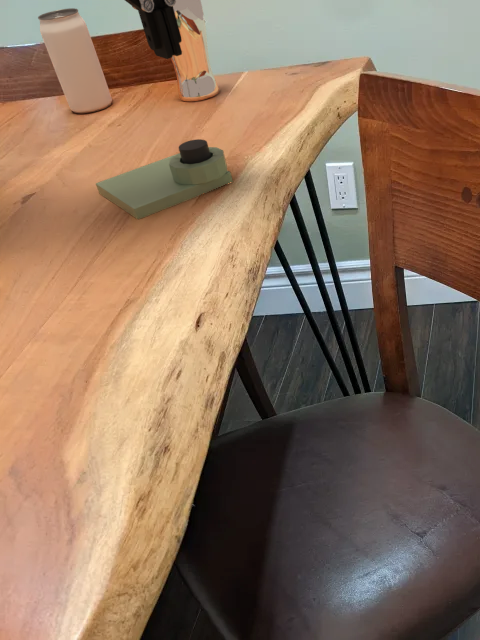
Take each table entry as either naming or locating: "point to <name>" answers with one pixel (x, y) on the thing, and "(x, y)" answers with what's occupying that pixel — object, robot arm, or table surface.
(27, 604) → the table surface
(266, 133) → the table surface
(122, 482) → the table surface
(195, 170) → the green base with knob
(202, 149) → the button
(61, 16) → the can
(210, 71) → the beer glass
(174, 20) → the robot arm
